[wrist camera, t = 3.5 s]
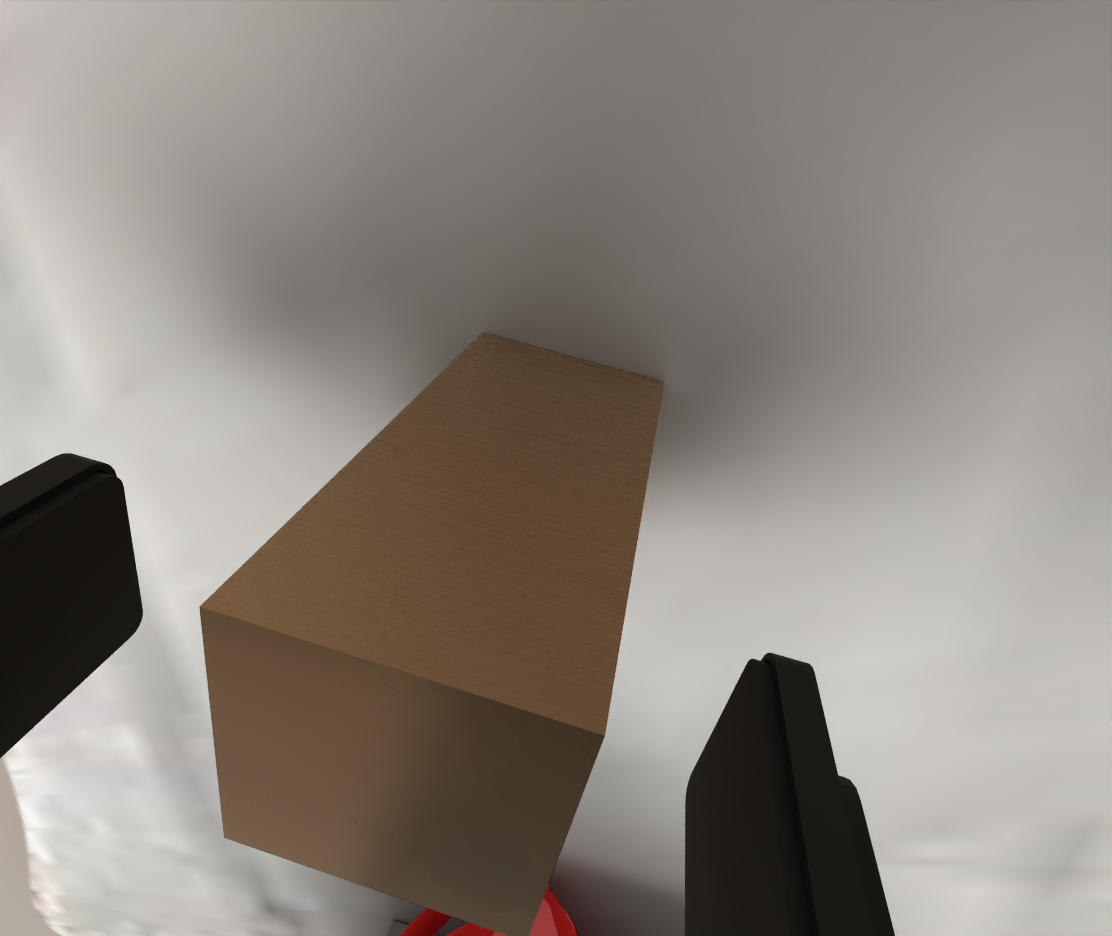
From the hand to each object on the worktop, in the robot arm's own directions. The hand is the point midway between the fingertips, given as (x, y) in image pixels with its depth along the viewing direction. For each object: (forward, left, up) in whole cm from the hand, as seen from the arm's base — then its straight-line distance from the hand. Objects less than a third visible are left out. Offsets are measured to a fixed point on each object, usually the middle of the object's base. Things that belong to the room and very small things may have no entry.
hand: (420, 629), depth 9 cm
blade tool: (+5, +1, -6) cm, 8 cm away
